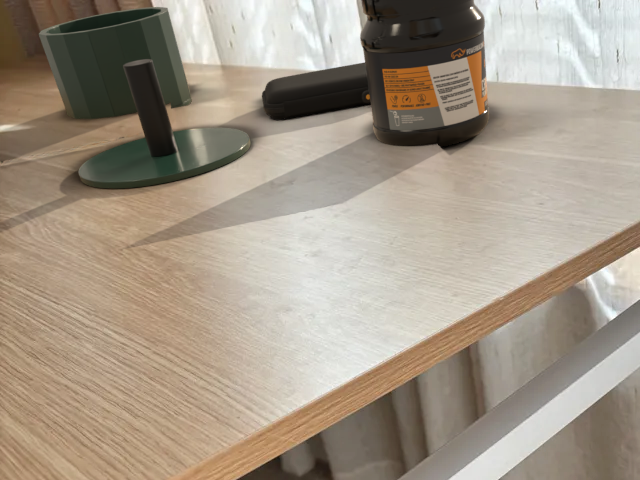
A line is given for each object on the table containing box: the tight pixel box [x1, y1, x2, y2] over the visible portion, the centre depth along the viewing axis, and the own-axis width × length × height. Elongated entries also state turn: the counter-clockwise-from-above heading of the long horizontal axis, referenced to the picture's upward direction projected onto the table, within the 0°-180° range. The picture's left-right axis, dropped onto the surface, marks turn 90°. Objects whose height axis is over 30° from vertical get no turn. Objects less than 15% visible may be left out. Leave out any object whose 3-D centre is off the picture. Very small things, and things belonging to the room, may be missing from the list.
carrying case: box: [261, 61, 371, 121], centre depth 86 cm, size 11×3×15 cm
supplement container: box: [359, 0, 490, 148], centre depth 70 cm, size 10×10×12 cm
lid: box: [78, 59, 251, 190], centre depth 75 cm, size 16×16×9 cm
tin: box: [38, 6, 193, 120], centre depth 96 cm, size 15×15×10 cm
